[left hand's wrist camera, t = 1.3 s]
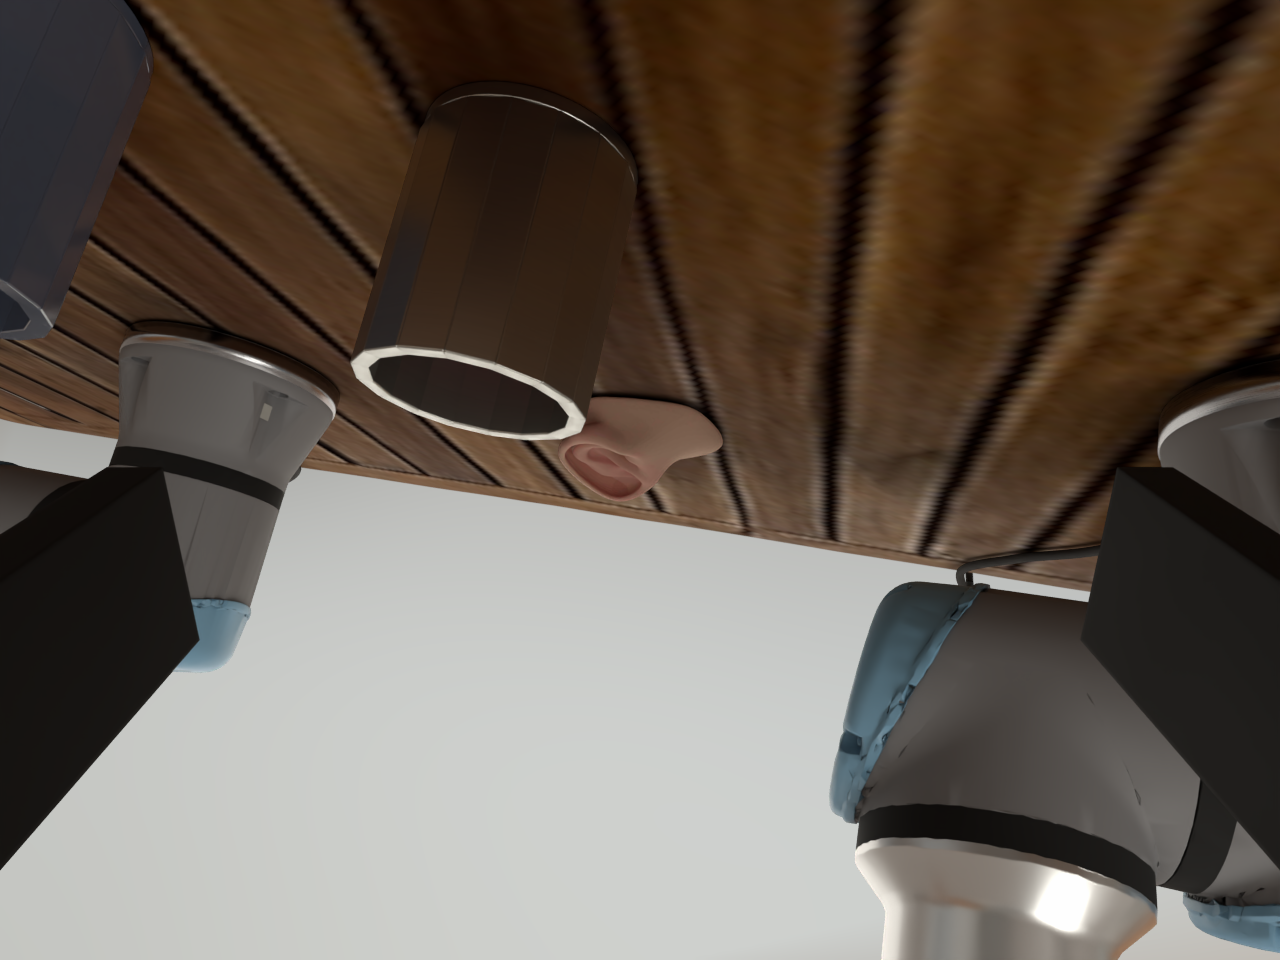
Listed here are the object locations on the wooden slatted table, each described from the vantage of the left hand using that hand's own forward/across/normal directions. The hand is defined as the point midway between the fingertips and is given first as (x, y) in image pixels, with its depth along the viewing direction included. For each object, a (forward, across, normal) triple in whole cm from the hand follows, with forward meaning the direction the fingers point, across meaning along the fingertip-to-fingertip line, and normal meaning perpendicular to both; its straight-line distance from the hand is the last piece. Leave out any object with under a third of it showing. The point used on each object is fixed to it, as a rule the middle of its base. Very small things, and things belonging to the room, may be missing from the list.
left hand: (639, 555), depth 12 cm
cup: (+25, +4, -5) cm, 25 cm away
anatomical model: (+48, 0, +14) cm, 50 cm away
